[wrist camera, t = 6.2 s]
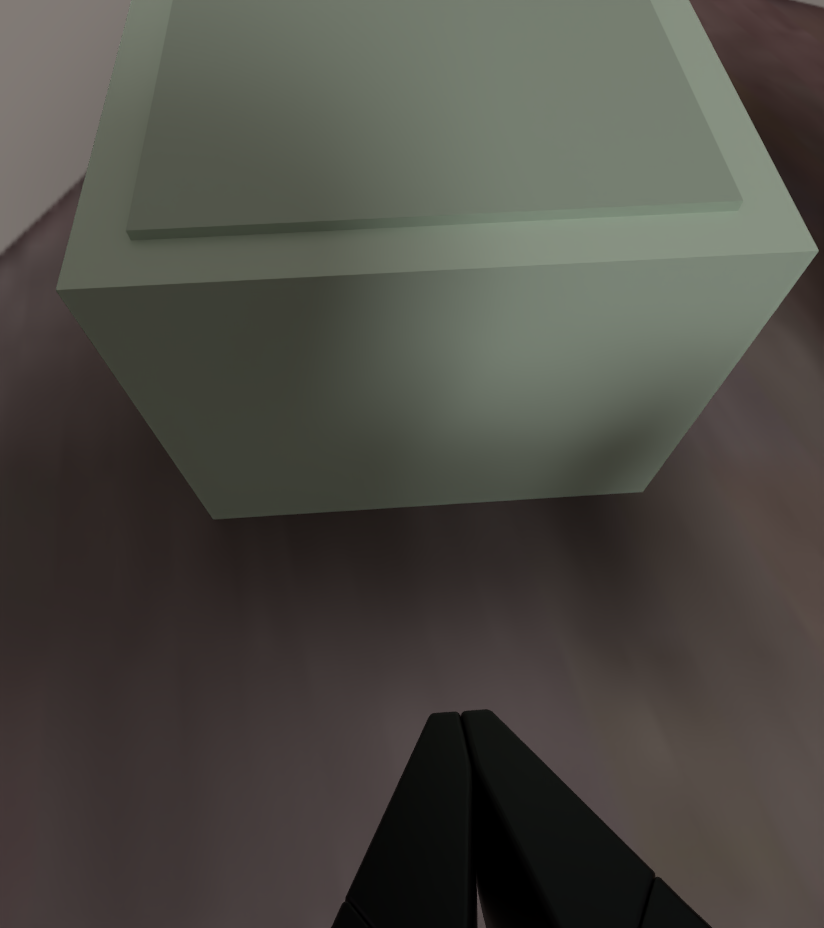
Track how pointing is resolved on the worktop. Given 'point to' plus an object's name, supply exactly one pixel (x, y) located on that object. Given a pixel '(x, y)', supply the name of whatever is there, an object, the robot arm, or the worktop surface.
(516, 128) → the tub
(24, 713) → the worktop surface
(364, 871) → the robot arm
